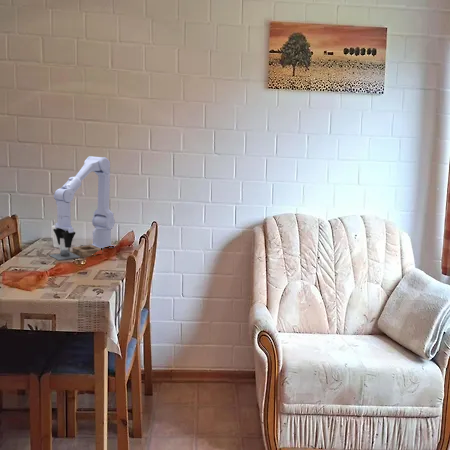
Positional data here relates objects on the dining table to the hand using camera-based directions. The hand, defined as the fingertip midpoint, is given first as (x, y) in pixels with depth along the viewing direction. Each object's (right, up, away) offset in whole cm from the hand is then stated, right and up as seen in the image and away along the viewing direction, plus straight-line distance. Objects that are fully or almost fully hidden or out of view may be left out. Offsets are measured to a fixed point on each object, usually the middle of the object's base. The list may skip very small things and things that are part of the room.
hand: (64, 245), depth 239 cm
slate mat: (0, -5, +1) cm, 5 cm away
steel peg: (0, -4, +1) cm, 5 cm away
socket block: (+8, -4, +8) cm, 12 cm away
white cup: (-8, -1, +20) cm, 22 cm away
